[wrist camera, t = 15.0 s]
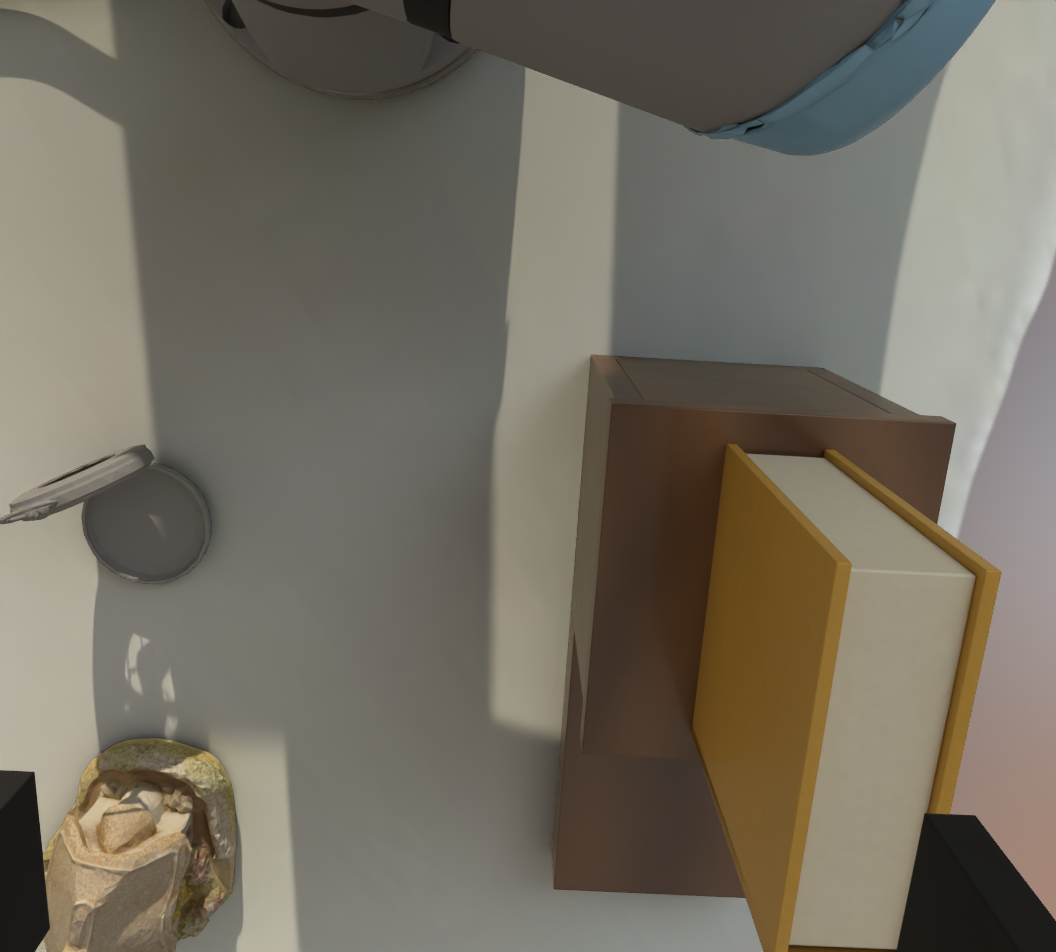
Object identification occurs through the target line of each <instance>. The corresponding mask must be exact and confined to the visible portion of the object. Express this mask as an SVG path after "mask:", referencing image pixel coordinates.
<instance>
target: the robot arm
mask: <svg viewBox="0 0 1056 952" xmlns="http://www.w3.org/2000/svg"><path fill="white" fill-rule="evenodd" d="M995 1H996V0H205V2H206V3H207V5H208V6H209V8H210V9H211V11H212V12H213V14H214V15H215V17H216V18H217V19H218V21H219V22H220V23H221V24H222V26H223V27H224V28H225V29H226V30H227V32H228V33H229V34H230V35H231V36H232V37H233V38H234V39H235V40H236V41H237V42H238V43H239V44H240V45H241V46H242V47H243V48H244V49H245V50H247V51H248V52H249V53H250V54H251V55H252V56H254V57H255V58H256V59H258V60H259V61H260V62H262V63H263V64H265V65H266V66H268V67H269V68H270V69H272V70H274V71H275V72H277V73H279V74H280V75H282V76H284V77H286V78H287V79H289V80H291V81H293V82H295V83H297V84H299V85H302V86H304V87H306V88H309V89H312V90H315V91H318V92H321V93H324V94H328V95H332V96H337V97H343V98H352V99H378V98H388V97H393V96H397V95H402V94H406V93H409V92H412V91H415V90H418V89H420V88H423V87H425V86H427V85H430V84H432V83H434V82H435V81H437V80H439V79H441V78H442V77H444V76H446V75H447V74H449V73H450V72H452V71H453V70H454V69H456V68H457V67H459V66H460V65H461V64H462V63H463V62H464V61H466V60H467V59H468V58H469V57H470V56H471V55H472V54H473V53H474V52H475V51H476V50H477V49H478V50H481V51H484V52H487V53H489V54H492V55H495V56H497V57H500V58H503V59H505V60H508V61H511V62H514V63H516V64H519V65H522V66H524V67H527V68H530V69H533V70H535V71H538V72H541V73H543V74H546V75H549V76H551V77H554V78H557V79H560V80H562V81H565V82H568V83H570V84H573V85H576V86H579V87H581V88H584V89H587V90H589V91H592V92H595V93H597V94H600V95H603V96H606V97H608V98H611V99H614V100H616V101H619V102H622V103H624V104H627V105H630V106H633V107H635V108H638V109H641V110H643V111H646V112H649V113H652V114H654V115H657V116H660V117H662V118H665V119H668V120H670V121H673V122H676V123H679V124H681V125H683V126H684V127H685V128H687V129H688V130H689V131H691V132H692V133H694V134H697V135H699V136H701V135H705V136H707V137H709V138H711V139H729V138H732V139H735V140H739V141H742V142H746V143H749V144H753V145H756V146H760V147H763V148H767V149H770V150H773V151H777V152H780V153H784V154H788V155H805V156H809V155H818V154H823V153H827V152H830V151H833V150H836V149H839V148H842V147H844V146H847V145H849V144H851V143H853V142H855V141H857V140H859V139H860V138H862V137H864V136H866V135H867V134H869V133H870V132H872V131H873V130H875V129H876V128H878V127H879V126H881V125H882V124H883V123H885V122H886V121H888V120H889V119H890V118H891V117H892V116H894V115H895V114H896V113H897V112H898V111H900V110H901V109H902V108H903V107H904V106H905V105H906V104H908V103H909V102H910V101H911V100H912V99H913V98H914V97H915V96H916V95H917V94H918V93H919V92H920V91H921V90H922V89H923V88H924V87H925V86H926V85H927V84H928V83H929V82H930V81H931V80H932V79H933V78H934V77H935V76H936V75H937V74H938V73H939V71H940V70H941V69H942V68H943V67H944V66H945V65H946V64H947V63H948V61H949V60H950V59H951V58H952V57H953V56H954V55H955V54H956V52H957V51H958V50H959V49H960V48H961V46H962V45H963V44H964V43H965V41H966V40H967V39H968V38H969V36H970V35H971V34H972V32H973V31H974V30H975V29H976V27H977V26H978V25H979V23H980V22H981V20H982V19H983V18H984V16H985V15H986V14H987V12H988V11H989V9H990V8H991V6H992V5H993V4H994V2H995ZM49 929H50V922H49V912H48V902H47V892H46V882H45V873H44V863H43V853H42V843H41V833H40V823H39V813H38V803H37V793H36V784H35V774H34V772H24V771H3V770H0V952H35V950H36V949H37V947H38V946H39V944H40V943H41V941H42V940H43V938H44V937H45V935H46V934H47V932H48V931H49ZM896 952H1056V921H1055V919H1054V918H1053V917H1052V916H1051V914H1050V913H1049V911H1048V910H1047V909H1046V907H1045V906H1044V905H1043V904H1042V902H1041V901H1040V900H1039V898H1038V897H1037V896H1036V895H1035V893H1034V892H1033V891H1032V889H1031V888H1030V887H1029V885H1028V884H1027V883H1026V881H1025V880H1024V879H1023V877H1022V876H1021V875H1020V873H1019V872H1018V871H1017V870H1016V868H1015V867H1014V866H1013V864H1012V863H1011V862H1010V860H1009V859H1008V858H1007V856H1006V855H1005V854H1004V853H1003V851H1002V850H1001V849H1000V847H999V846H998V845H997V843H996V842H995V841H994V839H993V838H992V837H991V835H990V834H989V833H988V832H987V830H986V829H985V828H984V826H983V825H982V824H981V822H980V821H979V820H978V818H977V817H976V816H973V815H952V814H931V813H924V818H923V823H922V828H921V833H920V838H919V843H918V848H917V852H916V857H915V862H914V867H913V872H912V877H911V882H910V887H909V891H908V896H907V901H906V906H905V911H904V916H903V921H902V926H901V931H900V935H899V940H898V945H897V950H896Z"/></svg>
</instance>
